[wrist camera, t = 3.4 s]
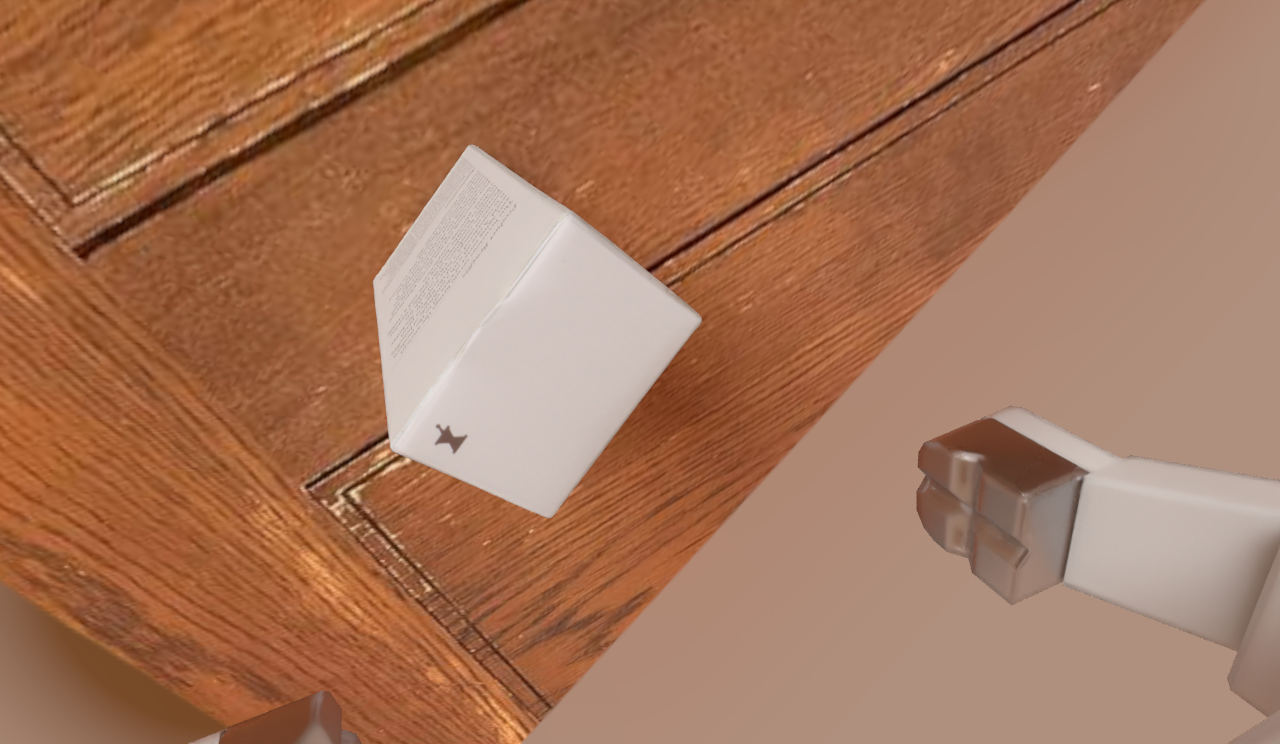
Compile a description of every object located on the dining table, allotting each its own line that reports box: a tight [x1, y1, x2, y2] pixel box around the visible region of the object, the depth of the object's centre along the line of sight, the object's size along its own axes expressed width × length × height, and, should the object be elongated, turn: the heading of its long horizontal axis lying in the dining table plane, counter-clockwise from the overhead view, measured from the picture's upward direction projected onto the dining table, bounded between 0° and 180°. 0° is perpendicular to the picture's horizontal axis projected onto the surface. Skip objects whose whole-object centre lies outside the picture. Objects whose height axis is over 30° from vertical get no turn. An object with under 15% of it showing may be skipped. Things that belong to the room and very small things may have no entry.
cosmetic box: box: [373, 145, 702, 518], centre depth 19 cm, size 6×4×12 cm
